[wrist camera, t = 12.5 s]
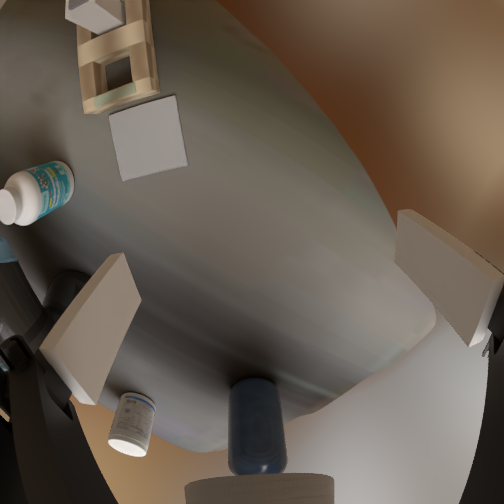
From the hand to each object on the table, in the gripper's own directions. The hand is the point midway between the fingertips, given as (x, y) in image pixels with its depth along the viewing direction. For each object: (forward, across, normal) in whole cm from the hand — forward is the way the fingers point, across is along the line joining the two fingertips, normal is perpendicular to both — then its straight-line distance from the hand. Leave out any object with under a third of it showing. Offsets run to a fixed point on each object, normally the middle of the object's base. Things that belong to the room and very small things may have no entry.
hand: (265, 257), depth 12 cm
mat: (+27, -13, +7) cm, 31 cm away
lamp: (+27, -6, -45) cm, 53 cm away
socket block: (+27, -15, +22) cm, 38 cm away
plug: (+27, -15, +27) cm, 41 cm away
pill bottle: (+27, -30, +5) cm, 41 cm away
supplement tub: (+27, -36, -49) cm, 66 cm away
